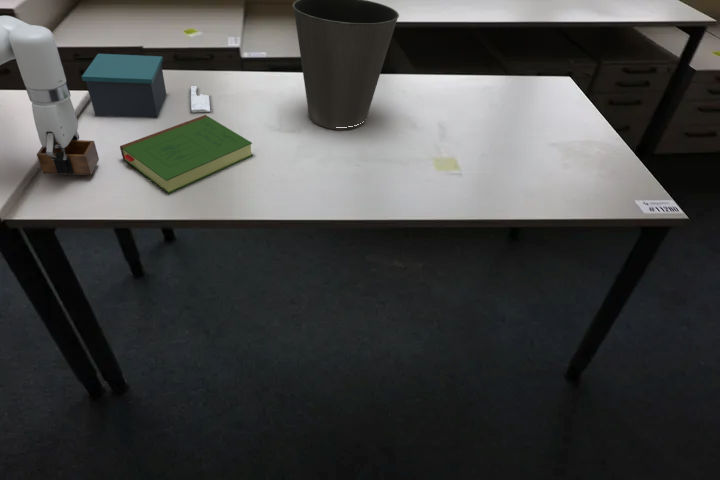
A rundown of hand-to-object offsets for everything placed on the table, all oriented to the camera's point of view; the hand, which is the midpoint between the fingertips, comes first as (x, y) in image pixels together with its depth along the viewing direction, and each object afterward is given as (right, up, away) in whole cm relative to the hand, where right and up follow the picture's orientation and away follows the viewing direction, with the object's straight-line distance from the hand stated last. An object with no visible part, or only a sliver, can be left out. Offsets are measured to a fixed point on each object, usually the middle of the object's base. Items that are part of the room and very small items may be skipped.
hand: (71, 163), depth 117 cm
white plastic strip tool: (+19, +23, +33) cm, 45 cm away
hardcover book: (+23, +3, +10) cm, 26 cm away
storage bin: (+2, +21, +27) cm, 34 cm away
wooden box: (0, -1, 0) cm, 1 cm away
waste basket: (+60, +19, +33) cm, 71 cm away
